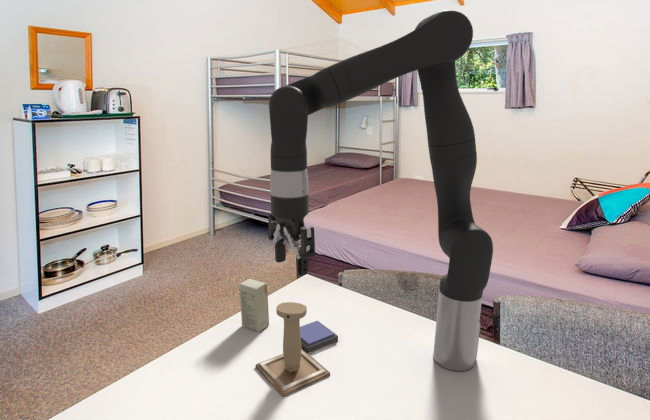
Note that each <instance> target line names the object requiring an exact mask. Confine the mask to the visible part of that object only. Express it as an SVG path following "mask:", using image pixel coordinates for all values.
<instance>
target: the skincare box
mask: <svg viewBox="0 0 650 420" xmlns="http://www.w3.org/2000/svg"><path fill="white" fill-rule="evenodd" d="M238 287H239V298H240V299H239V300H240V313H241V315H240V316H241V325H242V327H245V328H247V329H250V330H252V331H256V332H259V333H260V332H261V331H262V330H264V329H266V328H267V327H268V326H269V325H270V315H269V312H270V311H269V295H268V283H267V282H264V281H262V280H257V279H254V278H248V279H246V280H244V281H242V282H240V283H238Z"/></svg>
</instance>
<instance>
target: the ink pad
mask: <svg viewBox="0 0 650 420" xmlns="http://www.w3.org/2000/svg"><path fill="white" fill-rule="evenodd" d="M300 336H301V348H302V349H304V350H305V351H306V352H307V353H308V354H310V353H313V352H315V351H317V350H320V349H322V348H325V347H327V346H329V345H333V344H334V343H336V342H339V335H338V334H336V333H335V332H334V331H332V330H331V329H330V328H328V327H327V326H325V325H324V324H323V323H322V322H320V321H319V320H315V321H312V322H309V323H306V324H303V325H300Z"/></svg>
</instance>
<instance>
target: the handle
mask: <svg viewBox="0 0 650 420" xmlns="http://www.w3.org/2000/svg"><path fill="white" fill-rule="evenodd" d="M275 309H276V310H275V311H276V315H277V316H278V317H280V318H282V319H283V338H282V340H283V341H282V354H283V356H284V362H285V369H286V370H288V371H289V372H290V373H292V372H297V371H298V369H299V368H300V360H301V336H300V327H301V323H300V321H301V320H300V319H303V318H305V316H306V315H307V314H308V313H307V309H308V308H307V305H305V304H302V303H300V302H293V301H292V302H291V301H288V302H281V303H279V304H278V305H277V306H276V308H275Z"/></svg>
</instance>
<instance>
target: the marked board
mask: <svg viewBox="0 0 650 420" xmlns="http://www.w3.org/2000/svg"><path fill="white" fill-rule="evenodd" d="M255 368H256V369H257V370H258V371H259V372H260V373H261V374H262V376H263V377H264V378H265V379H266V380H267V381H268V382H269V383H270V384H271V386H272V387H273V388H274V389H275V390H276V391H277V392H278V393H279V395H280V396H282V397H285V396H287V395H290V394H292V393H295V392H296V391H298V390H301V389H303V388H305V387H307V386H309V385H312V384H314V383H316V382H318V381H320V380H322V379H325V378H327V377H329V376H331V372H330V371H328V369H327V368H325V367H324V366H323V365H322V364H321V363H320V362H318V361H317V360H316V359H315V357H313V356H312V355H311V354H310V353H307V352H306V351H305V350H304V349H302V348H301V360H300V368H299V369H298V371H297V372H292V373H290V372H289V371H288V370H286V369H285V362H284V356H283V353H281V354H279V355H276V356H273V357H271V358H268V359H266V360H263V361H261V362H258V363H256V364H255Z"/></svg>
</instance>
